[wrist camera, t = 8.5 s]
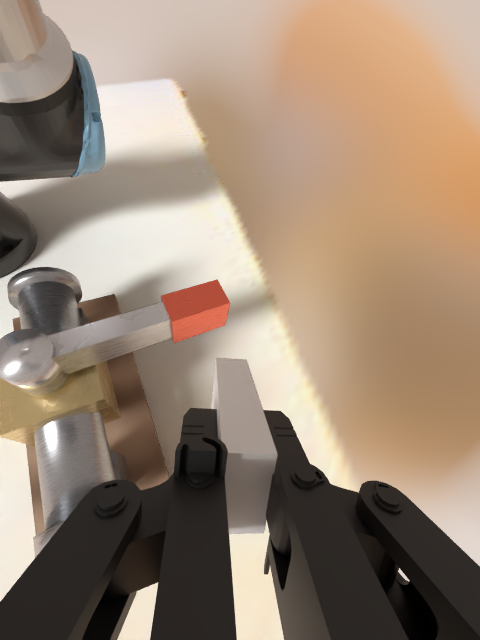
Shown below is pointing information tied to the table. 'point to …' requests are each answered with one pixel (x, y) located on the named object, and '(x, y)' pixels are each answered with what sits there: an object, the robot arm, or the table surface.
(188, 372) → the table surface
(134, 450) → the walnut base board
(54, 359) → the valve lever
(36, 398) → the pipe and valve body
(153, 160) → the table surface
